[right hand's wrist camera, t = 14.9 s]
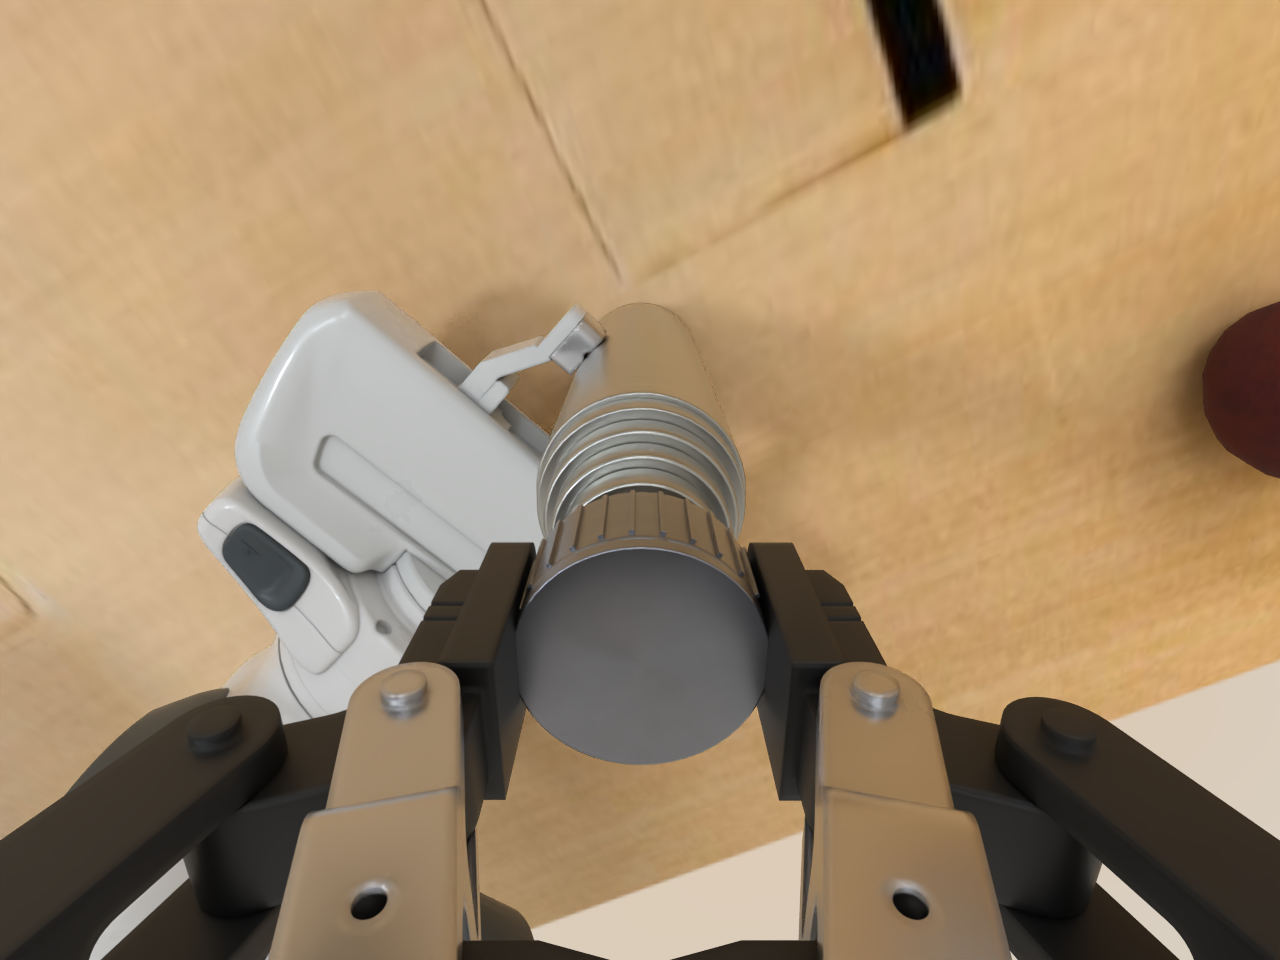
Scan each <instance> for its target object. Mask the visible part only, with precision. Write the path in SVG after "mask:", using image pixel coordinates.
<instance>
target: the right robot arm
mask: <svg viewBox="0 0 1280 960" xmlns="http://www.w3.org/2000/svg"><path fill="white" fill-rule="evenodd" d="M747 554H748V558H749V561H750V564H751V567H752V571H753V574H754V577H755V580H756V584H757V587H758V590H759V593H760V598H758V600H759V603H760V607H761V610H762V613H763V617H764V620H765V623H766V627H767V630H768V649H767V661H766V674H765V686H764V692H763V694H762V696H761V698H760V700H759V702H758V704H757V708H758V712H759V716H760V721H761V725H762V729H763V733H764V738H765V742H766V746H767V751H768V755H769V759H770V763H771V768H772V772H773V776H774V780H775V785H776V789H777V793H778V797H779V801H802V805H803V809H804V812H805V822H804V831H803V839H802V863H801V891H800V919H799V940H742V941H738V942H734V943H730V944H727V945H723V946H719V947H716V948H712V949H708V950H705V951H701V952H697V953H694V954H690V955H687V956H683V957H679V958H675V959H672V960H1012V957H1011V953H1010V951H1011V952H1012V954H1013V955H1014V956H1015V957H1016V958H1017V959H1018V960H1179V959H1178V958H1177V957H1176V956H1175V955H1174V954H1173V953H1172V952H1171V951H1170V950H1168V949H1167V948H1166V947H1165V946H1164V945H1163V944H1162V943H1161V942H1160V941H1159V940H1158V939H1157V938H1156V937H1154V936H1153V935H1152V934H1151V933H1150V932H1149V931H1148V930H1147V929H1146V928H1145V927H1144V926H1143V925H1142V924H1140V923H1139V922H1138V921H1137V920H1136V919H1135V918H1134V917H1133V916H1132V915H1131V914H1130V913H1129V912H1128V911H1126V910H1125V909H1124V908H1123V907H1122V906H1121V905H1120V904H1119V903H1118V902H1117V901H1116V900H1115V899H1113V898H1112V897H1111V896H1110V895H1109V894H1108V893H1107V892H1106V891H1105V890H1104V889H1103V888H1102V887H1101V886H1099V885H1098V884H1097V883H1096V881H1097V878H1098V874H1099V871H1100V869H1101V865H1102V863H1103V864H1104V865H1105V866H1106V867H1108V868H1109V869H1110V870H1111V871H1112V872H1113V873H1114V874H1115V875H1116V876H1118V877H1119V878H1120V879H1121V880H1122V881H1123V882H1124V883H1125V884H1127V885H1128V886H1129V887H1130V888H1131V889H1132V890H1133V891H1134V892H1135V893H1137V894H1138V895H1139V896H1140V897H1141V898H1142V899H1143V900H1144V901H1146V902H1147V903H1148V904H1149V905H1150V906H1151V907H1152V908H1153V909H1155V910H1156V911H1157V912H1158V913H1159V914H1160V915H1161V916H1162V917H1164V918H1165V919H1166V920H1167V921H1168V922H1169V923H1170V924H1171V925H1172V926H1173V927H1174V928H1175V929H1176V931H1177V932H1178V933H1179V934H1180V935H1181V937H1182V938H1183V940H1184V941H1185V943H1186V944H1187V946H1188V948H1189V949H1190V952H1191V954H1192V956H1193V959H1194V960H1280V840H1278V839H1277V838H1275V837H1274V836H1272V835H1271V834H1270V833H1268V832H1267V831H1265V830H1264V829H1262V828H1261V827H1260V826H1258V825H1257V824H1255V823H1254V822H1252V821H1251V820H1249V819H1248V818H1247V817H1245V816H1244V815H1242V814H1241V813H1239V812H1238V811H1236V810H1235V809H1234V808H1232V807H1231V806H1229V805H1228V804H1226V803H1225V802H1224V801H1222V800H1221V799H1219V798H1218V797H1216V796H1215V795H1213V794H1212V793H1211V792H1209V791H1208V790H1206V789H1205V788H1203V787H1202V786H1200V785H1199V784H1198V783H1196V782H1195V781H1193V780H1192V779H1190V778H1189V777H1188V776H1186V775H1185V774H1183V773H1182V772H1180V771H1179V770H1177V769H1176V768H1175V767H1173V766H1172V765H1170V764H1169V763H1167V762H1166V761H1165V760H1163V759H1162V758H1160V757H1159V756H1157V755H1156V754H1154V753H1153V752H1152V751H1150V750H1149V749H1147V748H1146V747H1144V746H1143V745H1141V744H1140V743H1139V742H1137V741H1136V740H1134V739H1133V738H1131V737H1130V736H1128V735H1127V734H1126V733H1124V732H1123V731H1121V730H1120V729H1118V728H1117V727H1116V726H1114V725H1113V724H1111V723H1110V722H1108V721H1107V720H1105V719H1104V718H1102V717H1100V716H1099V715H1097V714H1095V713H1093V712H1091V711H1089V710H1087V709H1085V708H1082V707H1080V706H1078V705H1075V704H1072V703H1069V702H1065V701H1061V700H1057V699H1051V698H1044V697H1028V698H1022V699H1018V700H1016V701H1013V702H1011V703H1010V704H1009V705H1007V706H1006V708H1005V709H1004V711H1003V714H1002V718H1001V723H1000V725H997V724H993V723H988V722H983V721H979V720H974V719H969V718H965V717H960V716H956V715H952V714H948V713H945V712H942V711H939V710H937V709H934V708H933V707H932V703H931V700H930V697H929V695H928V694H927V692H926V690H925V689H924V688H923V687H922V686H921V685H920V684H919V683H918V682H917V681H915V680H914V679H913V678H911V677H910V676H908V675H907V674H905V673H903V672H901V671H899V670H896V669H894V668H891V667H888V666H887V665H886V663H885V661H884V659H883V657H882V656H881V654H880V652H879V650H878V648H877V646H876V644H875V643H874V641H873V639H872V637H871V635H870V633H869V631H868V630H867V628H866V626H865V624H864V622H863V621H861V617H860V615H859V613H858V611H857V609H856V607H855V606H853V602H852V600H851V598H850V596H849V594H848V593H847V591H846V589H845V587H844V585H843V584H841V583H840V582H839V581H837V580H836V579H835V578H833V577H832V576H831V575H829V574H828V573H827V572H825V571H824V570H805V569H804V567H803V564H802V562H801V560H800V558H799V556H798V553H797V551H796V549H795V547H794V545H793V543H750V544H749V547H748V553H747ZM535 558H536V549H535V545H534V543H533V542H492V543H491V544H490V546H489V548H488V550H487V552H486V555H485V557H484V559H483V561H482V564H481V566H480V568H479V570H459V571H458V572H457V573H455V574H454V575H453V576H451V577H450V578H449V579H447V580H446V581H445V582H443V583H442V584H441V585H440V586H439V588H438V590H437V592H436V594H435V596H434V598H433V600H432V601H431V606H429V607H428V609H427V611H426V613H425V615H424V617H423V621H421V622H420V624H419V626H418V628H417V630H416V632H415V633H414V635H413V637H412V639H411V641H410V643H409V645H408V647H407V649H406V650H405V652H404V654H403V656H402V658H401V660H400V662H399V664H398V665H395V666H392V667H389V668H386V669H384V670H381V671H379V672H377V673H375V674H373V675H372V676H370V677H369V678H367V679H366V680H365V681H363V682H362V683H361V684H360V685H359V686H358V687H357V688H356V689H355V690H354V692H353V694H352V695H351V697H350V700H349V703H348V707H347V709H346V710H344V711H341V712H338V713H334V714H330V715H326V716H322V717H317V718H312V719H308V720H303V721H298V722H294V723H289V724H284V725H283V723H282V719H281V714H280V711H279V708H278V707H277V705H276V704H275V703H274V702H272V701H271V700H269V699H266V698H264V697H260V696H252V695H242V696H232V697H226V698H222V699H218V700H214V701H211V702H208V703H205V704H203V705H201V706H198V707H196V708H194V709H192V710H190V711H188V712H186V713H184V714H182V715H181V716H179V717H178V718H176V719H175V720H173V721H172V722H170V723H169V724H167V725H166V726H164V727H163V728H162V729H160V730H159V731H157V732H156V733H154V734H153V735H151V736H150V737H149V738H147V739H146V740H144V741H143V742H141V743H140V744H139V745H137V746H136V747H134V748H133V749H131V750H130V751H128V752H127V753H126V754H124V755H123V756H121V757H120V758H118V759H117V760H115V761H114V762H113V763H111V764H110V765H108V766H107V767H105V768H104V769H103V770H101V771H100V772H98V773H97V774H95V775H94V776H92V777H91V778H90V779H88V780H87V781H85V782H84V783H82V784H81V785H80V786H78V787H77V788H75V789H74V790H72V791H71V792H69V793H68V794H67V795H65V796H64V797H62V798H61V799H59V800H58V801H56V802H55V803H54V804H52V805H51V806H49V807H48V808H46V809H45V810H44V811H42V812H41V813H39V814H38V815H36V816H35V817H33V818H32V819H31V820H29V821H28V822H26V823H25V824H23V825H22V826H20V827H19V828H18V829H16V830H15V831H13V832H12V833H10V834H9V835H8V836H6V837H5V838H3V839H2V840H0V960H89V959H90V955H91V953H92V951H93V948H94V946H95V944H96V943H97V941H98V939H99V938H100V936H101V935H102V933H103V932H104V931H105V929H106V928H107V927H108V926H109V925H110V924H111V923H112V922H113V921H114V920H115V919H116V918H117V917H118V916H119V915H120V914H121V913H122V912H123V911H124V910H126V909H127V908H128V907H129V906H130V905H131V904H132V903H133V902H134V901H136V900H137V899H138V898H139V897H140V896H141V895H142V894H143V893H145V892H146V891H147V890H148V889H149V888H150V887H151V886H152V885H154V884H155V883H156V882H157V881H158V880H159V879H160V878H161V877H162V876H164V875H165V874H166V873H167V872H168V871H169V870H170V869H171V868H173V867H174V866H175V865H176V864H177V863H178V862H179V861H180V860H181V859H183V860H184V864H185V867H186V870H187V873H188V876H189V878H188V879H187V880H186V881H185V882H184V883H183V884H182V885H181V886H179V887H178V888H177V889H176V890H175V891H174V892H173V893H172V894H171V895H170V896H169V897H168V898H167V899H165V900H164V901H163V902H162V903H161V904H160V905H159V906H158V907H157V908H156V909H155V910H154V911H152V912H151V913H150V914H149V915H148V916H147V917H146V918H145V919H144V920H143V921H142V922H141V923H140V924H138V925H137V926H136V927H135V928H134V929H133V930H132V931H131V932H130V933H129V934H128V935H127V936H126V937H124V938H123V939H122V940H121V941H120V942H119V943H118V944H117V945H116V946H115V947H114V948H113V949H112V950H110V951H109V952H108V953H107V954H106V955H105V956H104V957H103V958H102V959H101V960H262V959H263V958H264V957H265V956H266V955H267V954H268V952H269V951H270V953H269V957H268V960H608V959H604V958H601V957H597V956H594V955H590V954H586V953H583V952H579V951H575V950H571V949H568V948H564V947H561V946H557V945H553V944H549V943H546V942H542V941H539V940H481V919H480V892H479V864H478V839H477V831H476V824H477V822H478V819H479V815H480V811H481V807H482V803H483V800H505V799H506V794H507V790H508V786H509V781H510V777H511V772H512V768H513V764H514V759H515V755H516V750H517V746H518V741H519V737H520V733H521V728H522V724H523V719H524V715H525V711H526V706H525V704H524V702H523V700H522V698H521V696H520V687H519V674H518V661H517V648H516V635H515V626H516V623H517V619H518V616H519V613H520V605H521V601H522V598H523V595H524V591H525V588H526V585H527V581H528V578H529V574H530V571H531V568H532V564H533V561H535Z"/></svg>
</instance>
